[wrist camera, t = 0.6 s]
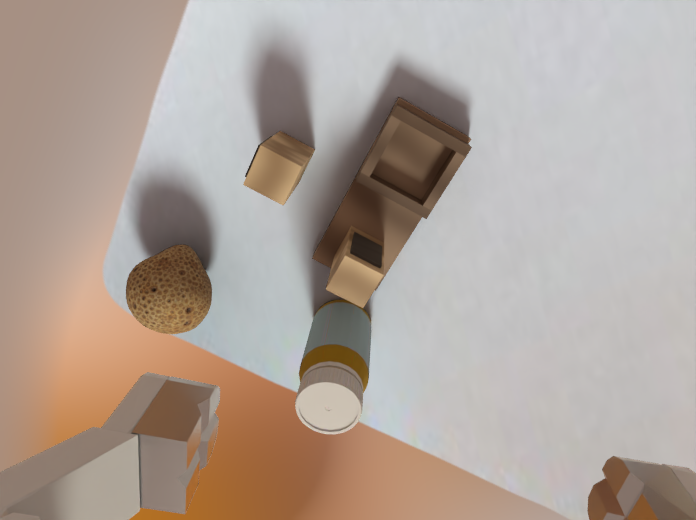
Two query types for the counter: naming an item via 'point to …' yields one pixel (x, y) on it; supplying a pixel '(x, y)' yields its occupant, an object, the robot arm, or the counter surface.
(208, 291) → the natural sponge
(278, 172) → the block
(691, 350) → the counter surface
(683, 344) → the counter surface
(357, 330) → the bottle
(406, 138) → the wooden block holder
